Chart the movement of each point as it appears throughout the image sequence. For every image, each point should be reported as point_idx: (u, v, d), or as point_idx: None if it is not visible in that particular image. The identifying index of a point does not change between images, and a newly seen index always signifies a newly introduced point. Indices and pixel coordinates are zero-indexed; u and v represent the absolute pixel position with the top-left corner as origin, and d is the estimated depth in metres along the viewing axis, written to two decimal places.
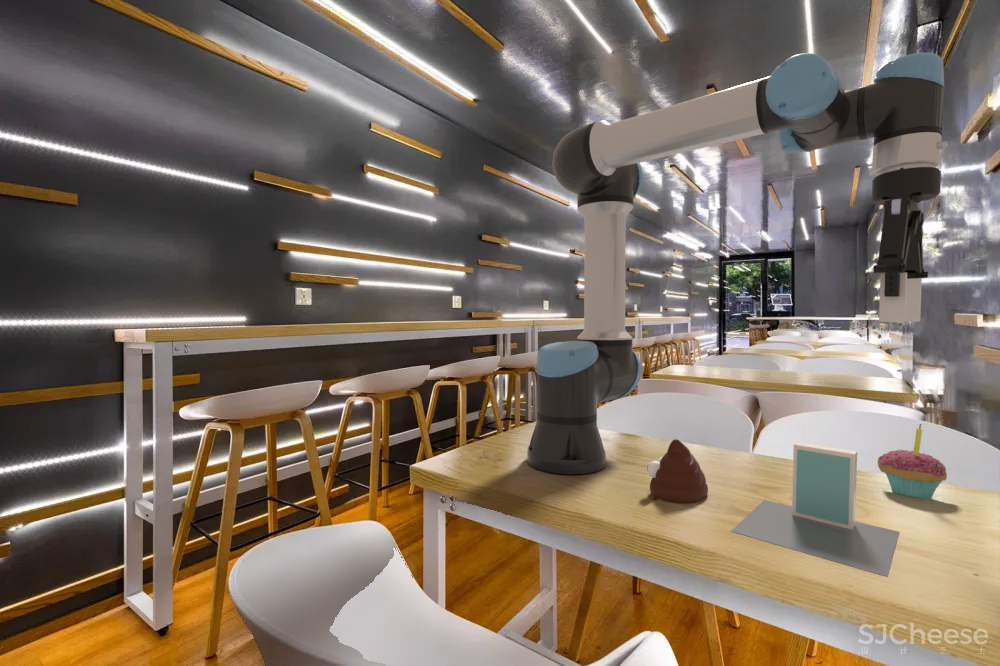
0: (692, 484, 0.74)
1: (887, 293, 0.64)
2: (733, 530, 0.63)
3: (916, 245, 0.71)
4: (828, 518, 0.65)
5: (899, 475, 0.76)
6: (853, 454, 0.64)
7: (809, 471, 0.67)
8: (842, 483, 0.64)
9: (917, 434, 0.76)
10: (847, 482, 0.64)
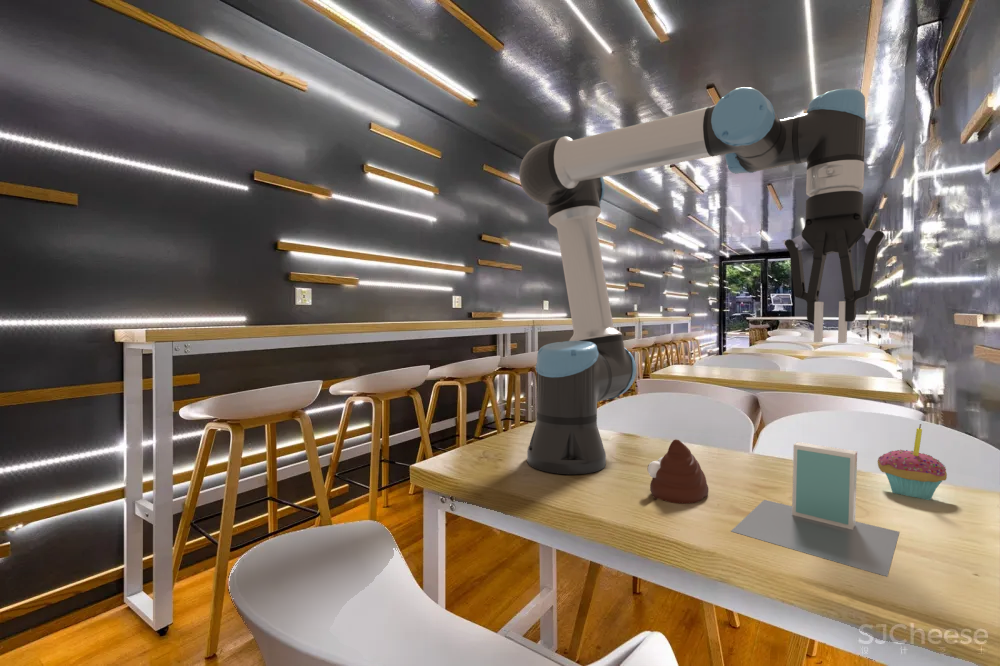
0: (692, 485, 0.74)
1: None
2: (733, 530, 0.63)
3: (840, 261, 0.76)
4: (828, 518, 0.65)
5: (899, 475, 0.76)
6: (853, 454, 0.64)
7: (809, 471, 0.67)
8: (842, 483, 0.64)
9: (917, 434, 0.76)
10: (847, 482, 0.64)
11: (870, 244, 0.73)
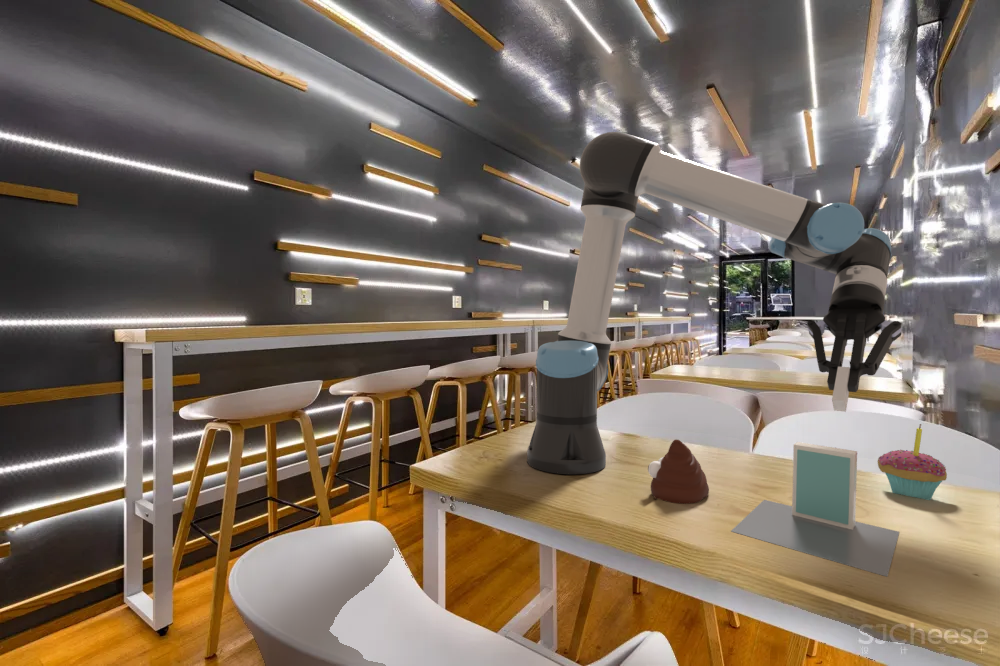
0: (693, 485, 0.74)
1: (828, 386, 0.76)
2: (733, 530, 0.63)
3: (854, 338, 0.78)
4: (828, 518, 0.65)
5: (899, 475, 0.76)
6: (853, 454, 0.64)
7: (809, 471, 0.67)
8: (842, 483, 0.64)
9: (917, 434, 0.76)
10: (847, 482, 0.64)
11: (886, 329, 0.76)
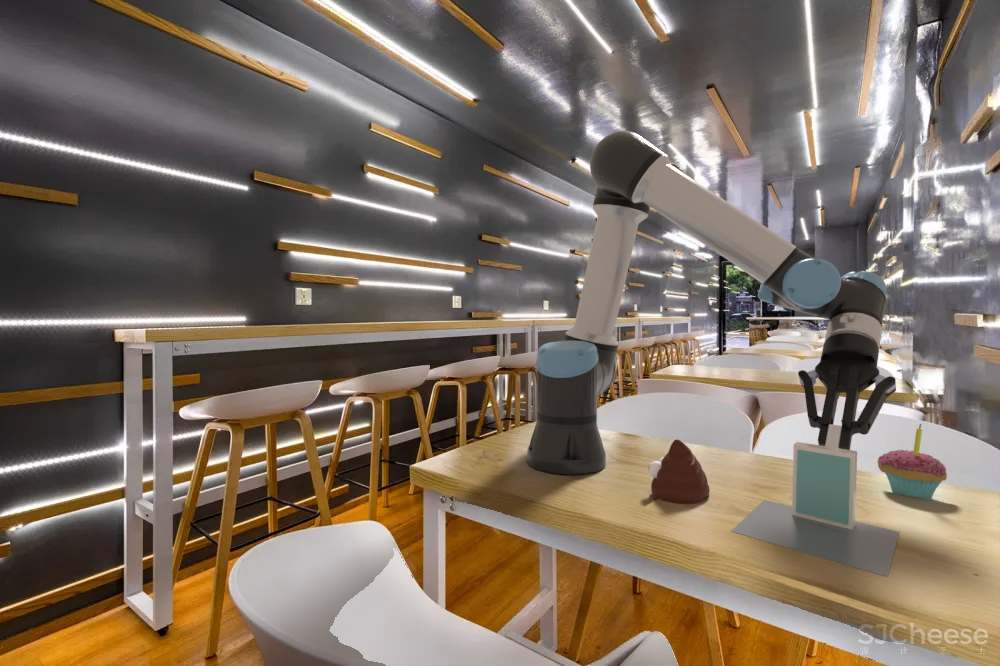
0: (693, 485, 0.73)
1: None
2: (733, 530, 0.63)
3: (846, 393, 0.75)
4: (828, 518, 0.65)
5: (899, 475, 0.76)
6: (853, 454, 0.64)
7: (809, 471, 0.67)
8: (842, 483, 0.64)
9: (917, 434, 0.76)
10: (847, 482, 0.64)
11: (880, 384, 0.73)
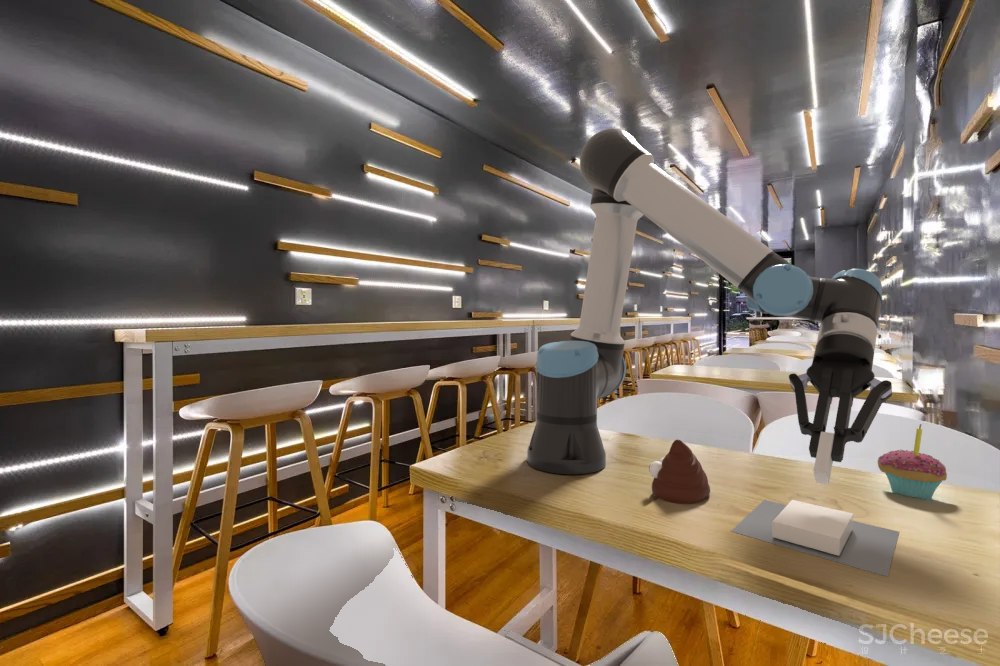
0: (694, 485, 0.73)
1: (810, 453, 0.68)
2: (733, 530, 0.63)
3: None
4: None
5: (899, 475, 0.76)
6: (837, 554, 0.56)
7: None
8: None
9: (917, 434, 0.76)
10: None
11: (875, 389, 0.68)
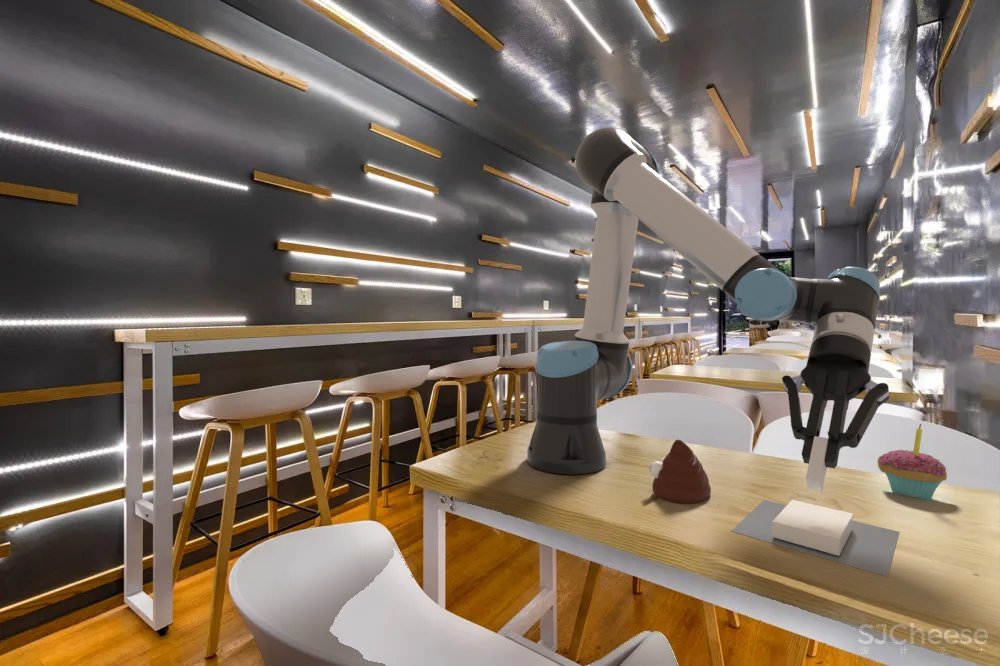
0: (695, 485, 0.73)
1: (803, 459, 0.65)
2: (733, 530, 0.63)
3: (834, 401, 0.67)
4: None
5: (899, 475, 0.76)
6: (837, 554, 0.56)
7: None
8: None
9: (917, 434, 0.76)
10: None
11: (871, 392, 0.65)
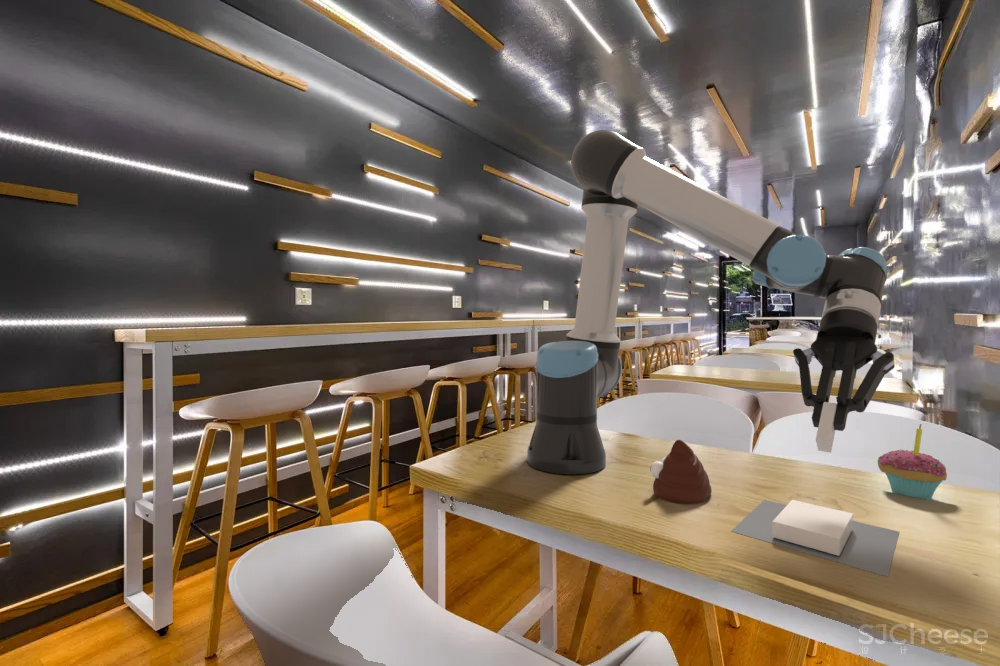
0: (695, 485, 0.73)
1: (813, 423, 0.70)
2: (733, 530, 0.63)
3: (842, 370, 0.72)
4: None
5: (899, 475, 0.76)
6: (837, 554, 0.56)
7: None
8: None
9: (917, 434, 0.76)
10: None
11: (877, 361, 0.70)
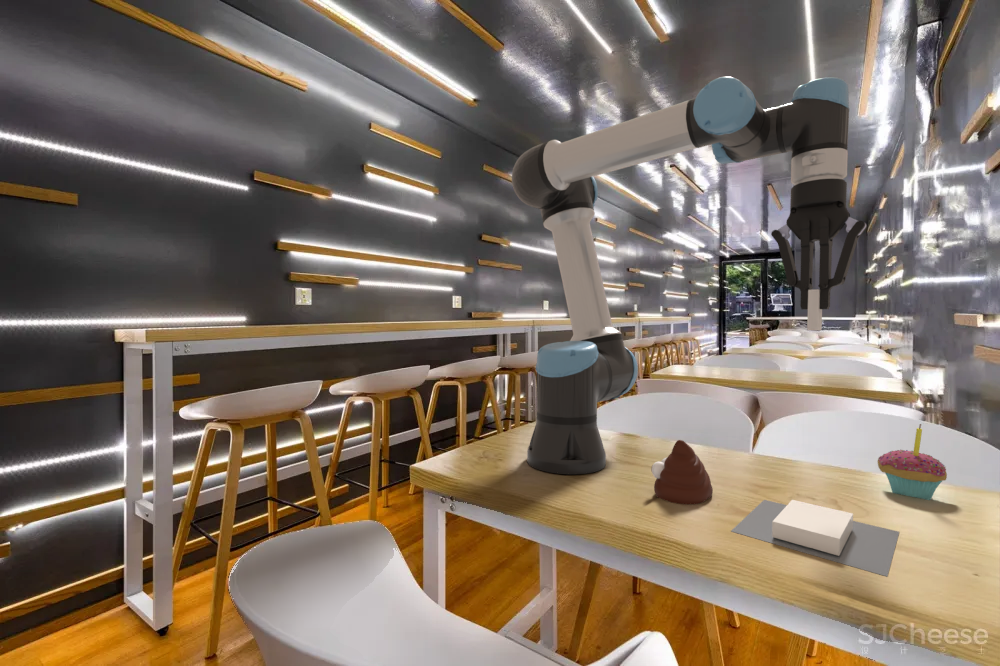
0: (697, 485, 0.73)
1: None
2: (733, 530, 0.63)
3: (820, 249, 0.77)
4: None
5: (899, 475, 0.76)
6: (837, 554, 0.56)
7: None
8: None
9: (917, 434, 0.76)
10: None
11: (850, 233, 0.74)
